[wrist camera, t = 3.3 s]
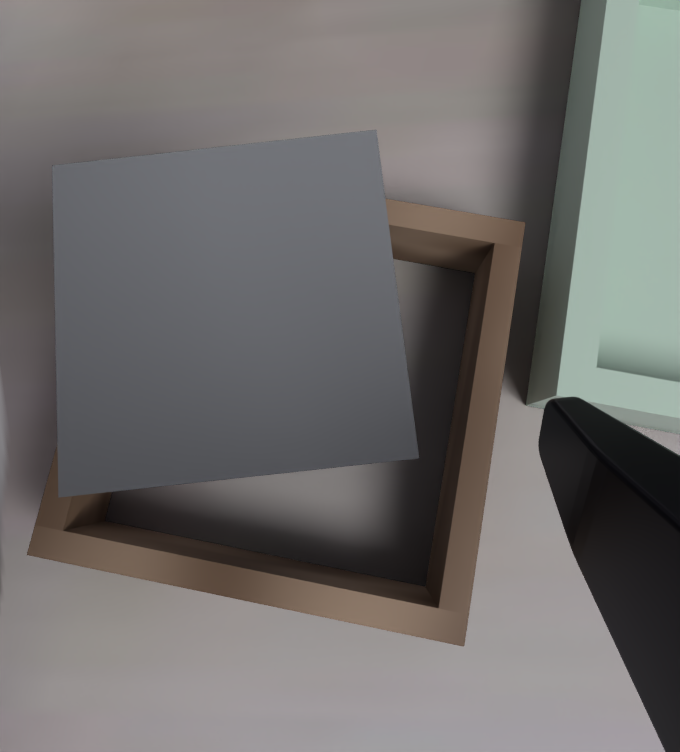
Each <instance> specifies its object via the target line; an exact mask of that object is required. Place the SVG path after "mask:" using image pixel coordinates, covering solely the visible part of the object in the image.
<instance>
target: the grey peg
mask: <svg viewBox="0 0 680 752" xmlns="http://www.w3.org/2000/svg"><path fill="white" fill-rule="evenodd" d="M52 191H53V242H54V293H55V345H56V396H57V448H58V498H59V497H68V496H78V495H87V494H96V493H105V492H114V491H123V490H133V489H142V488H151V487H160V486H169V485H179V484H188V483H197V482H206V481H215V480H225V479H234V478H243V477H252V476H261V475H271V474H280V473H289V472H298V471H307V470H316V469H326V468H335V467H344V466H353V465H362V464H372V463H381V462H390V461H399V460H408V459H418V458H419V453H418V446H417V438H416V430H415V423H414V415H413V407H412V400H411V392H410V384H409V377H408V369H407V361H406V353H405V346H404V338H403V330H402V323H401V315H400V307H399V300H398V292H397V284H396V277H395V269H394V261H393V254H392V246H391V238H390V231H389V223H388V215H387V208H386V200H385V192H384V185H383V177H382V169H381V162H380V154H379V146H378V139H377V131H376V130H369V131H360V132H351V133H342V134H333V135H324V136H314V137H305V138H296V139H287V140H278V141H269V142H260V143H251V144H242V145H233V146H224V147H215V148H205V149H196V150H187V151H178V152H169V153H160V154H151V155H142V156H133V157H124V158H115V159H105V160H96V161H87V162H78V163H69V164H60V165H52Z"/></svg>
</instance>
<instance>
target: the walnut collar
mask: <svg viewBox="0 0 680 752" xmlns="http://www.w3.org/2000/svg"><path fill="white" fill-rule="evenodd" d="M385 200H386V208H387V215H388V223H389V231H390V238H391V246H392V254H393V259H398V260H404V261H409V262H415V263H421V264H427V265H432V266H438V267H444V268H450V269H455V270H461V271H467V272H473V273H475V276H474V283H473V289H472V295H471V302H470V308H469V314H468V321H467V327H466V333H465V340H464V346H463V352H462V359H461V365H460V371H459V378H458V384H457V390H456V396H455V403H454V409H453V415H452V422H451V428H450V434H449V441H448V447H447V453H446V460H445V466H444V472H443V479H442V485H441V491H440V498H439V504H438V510H437V516H436V523H435V529H434V535H433V542H432V548H431V554H430V561H429V567H428V573H427V580H426V586H425V587H424V586H420V585H415V584H410V583H405V582H400V581H395V580H390V579H385V578H380V577H376V576H371V575H366V574H361V573H356V572H351V571H346V570H341V569H337V568H332V567H327V566H322V565H317V564H312V563H307V562H302V561H297V560H293V559H288V558H283V557H278V556H273V555H268V554H263V553H258V552H254V551H249V550H244V549H239V548H234V547H229V546H224V545H219V544H214V543H210V542H205V541H200V540H195V539H190V538H185V537H180V536H175V535H171V534H166V533H161V532H156V531H151V530H146V529H141V528H136V527H131V526H127V525H122V524H117V523H112V522H107V521H105V518H106V514H107V510H108V506H109V502H110V498H111V494H112V492H105V493H96V494H87V495H78V496H68V497H59V498H58V448H57V447H56V451H55V454H54V458H53V461H52V465H51V469H50V472H49V476H48V480H47V483H46V487H45V490H44V494H43V498H42V501H41V505H40V509H39V512H38V516H37V520H36V523H35V527H34V530H33V534H32V538H31V541H30V545H29V549H28V552H27V555H30V556H35V557H39V558H44V559H49V560H54V561H59V562H63V563H68V564H73V565H78V566H82V567H87V568H92V569H97V570H101V571H106V572H111V573H116V574H121V575H125V576H130V577H135V578H140V579H144V580H149V581H154V582H159V583H163V584H168V585H173V586H178V587H183V588H187V589H192V590H197V591H202V592H206V593H211V594H216V595H221V596H225V597H230V598H235V599H240V600H245V601H249V602H254V603H259V604H264V605H268V606H273V607H278V608H283V609H287V610H292V611H297V612H302V613H307V614H311V615H316V616H321V617H326V618H330V619H335V620H340V621H345V622H349V623H354V624H359V625H364V626H369V627H373V628H378V629H383V630H388V631H392V632H397V633H402V634H407V635H411V636H416V637H421V638H426V639H431V640H435V641H440V642H445V643H450V644H454V645H459V646H464V644H465V637H466V630H467V623H468V616H469V609H470V602H471V596H472V589H473V582H474V575H475V568H476V561H477V554H478V547H479V540H480V533H481V526H482V520H483V513H484V506H485V499H486V492H487V485H488V478H489V471H490V464H491V457H492V450H493V443H494V437H495V430H496V423H497V416H498V409H499V402H500V395H501V388H502V381H503V374H504V367H505V361H506V354H507V347H508V340H509V333H510V326H511V319H512V312H513V305H514V298H515V291H516V285H517V278H518V271H519V264H520V257H521V250H522V243H523V236H524V229H525V222H520V221H514V220H508V219H502V218H496V217H491V216H485V215H479V214H473V213H467V212H461V211H455V210H449V209H443V208H437V207H431V206H425V205H420V204H414V203H408V202H402V201H396V200H390V199H385Z"/></svg>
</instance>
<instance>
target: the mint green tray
mask: <svg viewBox="0 0 680 752" xmlns="http://www.w3.org/2000/svg"><path fill="white" fill-rule="evenodd" d="M563 397H579V398H581V399H583V400H585V401H586V402H588V403H590V404H592V405H593V406H595V407H597V408H598V409H600V410H602V411H604V412H605V413H607V414H609V415H611V416H612V417H614V418H616V419H617V420H619V421H621V422H623V423H624V424H628V425H633V426H638V427H644V428H649V429H655V430H660V431H665V432H671V433H676V434H680V0H581V5H580V13H579V20H578V27H577V35H576V42H575V49H574V56H573V64H572V71H571V78H570V86H569V93H568V100H567V108H566V115H565V122H564V130H563V137H562V144H561V152H560V159H559V166H558V174H557V181H556V188H555V196H554V203H553V210H552V218H551V225H550V232H549V240H548V247H547V254H546V262H545V269H544V276H543V284H542V291H541V298H540V305H539V313H538V320H537V327H536V335H535V342H534V349H533V357H532V364H531V371H530V379H529V386H528V393H527V401H526V406H531V407H536V408H542V409H544V408H545V405H546V403H547V402H548V401H549V400H551V399H554V398H563Z"/></svg>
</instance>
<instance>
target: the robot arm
mask: <svg viewBox="0 0 680 752" xmlns="http://www.w3.org/2000/svg"><path fill="white" fill-rule="evenodd" d="M539 453H540V457H541V460H542V463H543V466H544V469H545V472H546V475H547V478H548V481H549V484H550V487H551V490H552V493H553V496H554V499H555V502H556V505H557V508H558V511H559V514H560V517H561V520H562V523H563V526H564V529H565V532H566V535H567V538H568V541H569V543H570V546H571V549H572V551H573V554H574V556H575V558H576V561H577V563H578V565H579V567H580V570H581V572H582V574H583V576H584V578H585V580H586V582H587V585H588V587H589V589H590V591H591V593H592V595H593V597H594V600H595V602H596V604H597V606H598V608H599V610H600V612H601V615H602V617H603V619H604V621H605V623H606V625H607V627H608V630H609V632H610V634H611V636H612V638H613V640H614V642H615V645H616V647H617V649H618V651H619V653H620V655H621V657H622V660H623V662H624V664H625V666H626V668H627V670H628V672H629V675H630V677H631V679H632V681H633V683H634V685H635V687H636V690H637V692H638V694H639V696H640V698H641V700H642V702H643V705H644V707H645V709H646V711H647V713H648V715H649V717H650V720H651V722H652V724H653V726H654V728H655V730H656V732H657V735H658V737H659V739H660V741H661V743H662V745H663V747H664V750H665V752H680V455H678V454H676V453H674V452H673V451H671V450H669V449H667V448H666V447H664V446H662V445H661V444H659V443H657V442H655V441H654V440H652V439H650V438H648V437H647V436H645V435H643V434H642V433H640V432H638V431H636V430H635V429H633V428H631V427H630V426H628V425H626V424H624V423H623V422H621V421H619V420H617V419H616V418H614V417H612V416H611V415H609V414H607V413H605V412H604V411H602V410H600V409H598V408H597V407H595V406H593V405H592V404H590V403H588V402H586V401H585V400H583V399H581V398H579V397H563V398H554V399H551V400H549V401H548V402H547V403H546V405H545V408H544V414H543V419H542V425H541V430H540V436H539Z"/></svg>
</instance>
